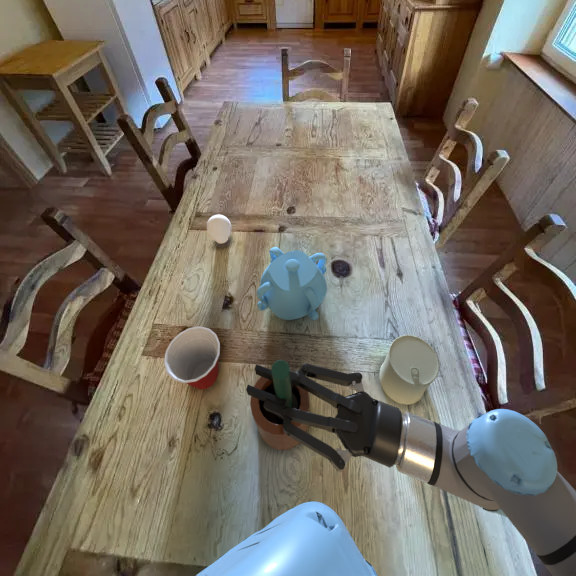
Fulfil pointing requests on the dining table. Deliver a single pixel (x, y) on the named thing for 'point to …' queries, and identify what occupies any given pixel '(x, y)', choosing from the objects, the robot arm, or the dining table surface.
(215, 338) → the plastic cup
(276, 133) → the dining table surface
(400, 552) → the dining table surface
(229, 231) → the light bulb
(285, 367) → the green peg on base
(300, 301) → the decorative pot
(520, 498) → the robot arm
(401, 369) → the can
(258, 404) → the brown mortar
